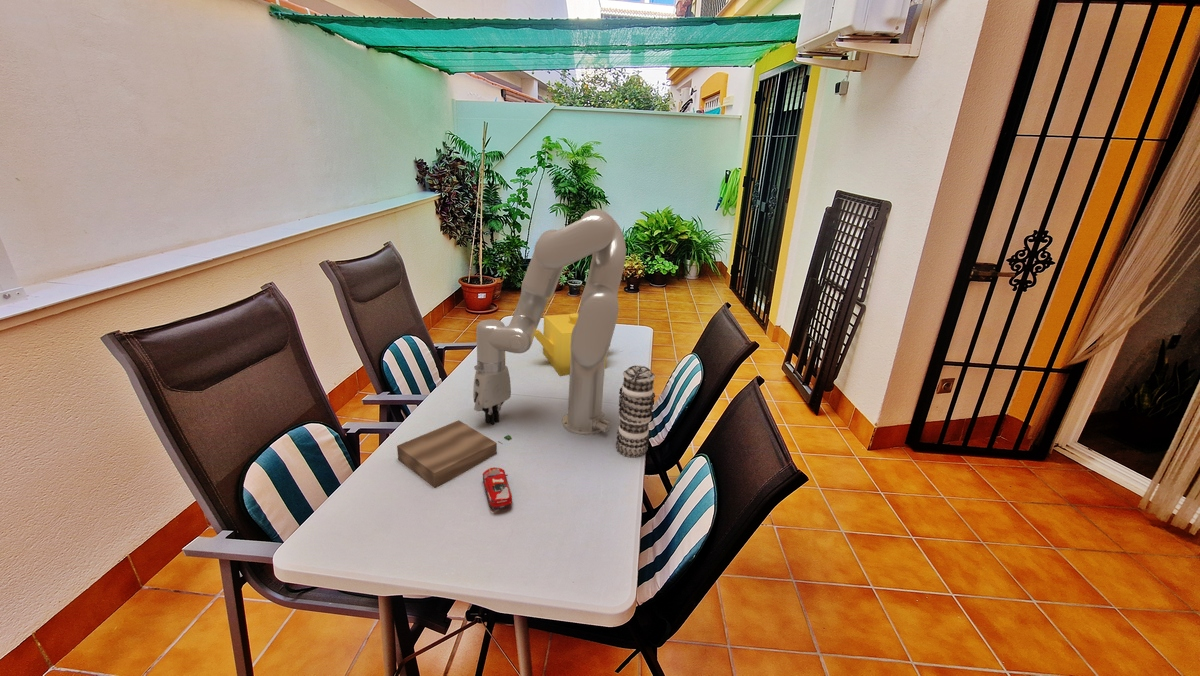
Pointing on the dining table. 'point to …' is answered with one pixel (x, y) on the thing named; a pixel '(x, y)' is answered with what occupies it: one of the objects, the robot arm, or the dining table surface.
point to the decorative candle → (635, 411)
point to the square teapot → (558, 341)
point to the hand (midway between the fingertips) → (492, 423)
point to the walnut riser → (446, 452)
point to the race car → (497, 488)
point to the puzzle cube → (507, 438)
